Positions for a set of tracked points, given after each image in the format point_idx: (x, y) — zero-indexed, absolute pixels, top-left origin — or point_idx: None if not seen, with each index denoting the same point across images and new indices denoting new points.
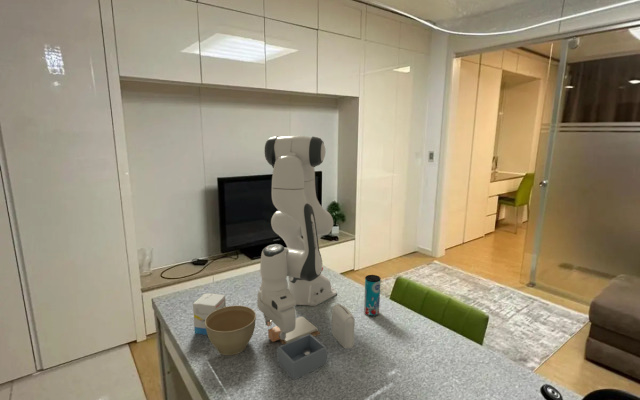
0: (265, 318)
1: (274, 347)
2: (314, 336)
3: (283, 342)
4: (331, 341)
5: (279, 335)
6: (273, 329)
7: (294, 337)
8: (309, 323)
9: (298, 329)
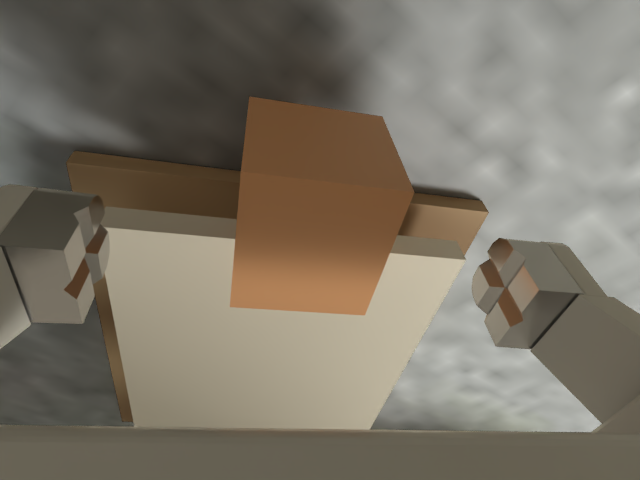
0: (628, 330)
1: (214, 69)
2: (115, 387)
3: (197, 195)
4: (12, 412)
5: (50, 222)
6: (338, 249)
7: (112, 311)
8: None
9: (219, 383)
